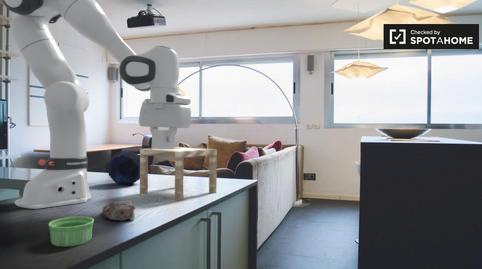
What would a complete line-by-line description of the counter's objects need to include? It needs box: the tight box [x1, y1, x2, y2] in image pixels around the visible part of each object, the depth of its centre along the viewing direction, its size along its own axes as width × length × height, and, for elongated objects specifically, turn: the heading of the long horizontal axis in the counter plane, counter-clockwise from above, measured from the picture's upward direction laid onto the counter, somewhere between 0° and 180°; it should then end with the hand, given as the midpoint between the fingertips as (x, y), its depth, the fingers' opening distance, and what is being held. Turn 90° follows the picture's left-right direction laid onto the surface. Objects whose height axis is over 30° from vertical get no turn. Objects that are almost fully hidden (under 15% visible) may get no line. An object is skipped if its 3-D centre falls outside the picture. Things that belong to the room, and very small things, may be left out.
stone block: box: [151, 129, 176, 149], centre depth 115 cm, size 5×5×6 cm
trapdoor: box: [153, 147, 207, 151], centre depth 135 cm, size 14×14×1 cm
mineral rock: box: [101, 199, 136, 222], centre depth 99 cm, size 15×8×4 cm, turn 24°
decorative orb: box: [107, 150, 140, 186], centre depth 153 cm, size 14×15×15 cm
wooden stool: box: [139, 146, 218, 202], centre depth 135 cm, size 20×20×16 cm
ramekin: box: [48, 215, 95, 248], centre depth 79 cm, size 9×9×4 cm
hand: (162, 141), depth 115 cm, fingers closed on stone block, 5 cm apart
